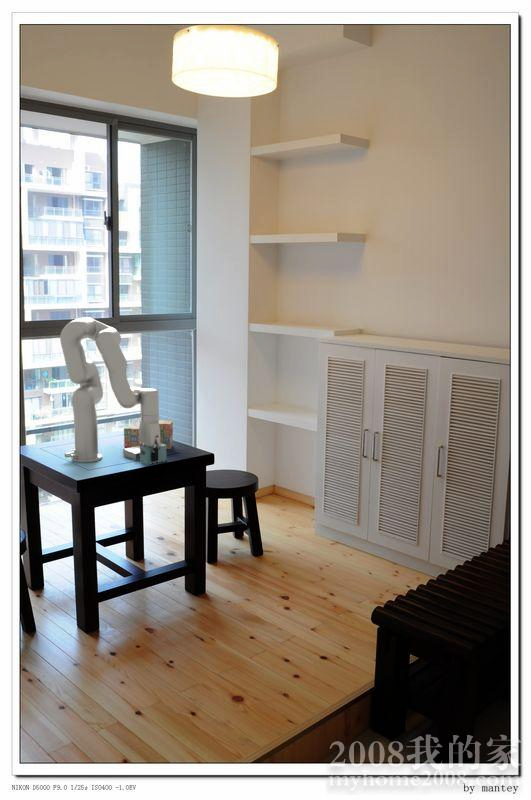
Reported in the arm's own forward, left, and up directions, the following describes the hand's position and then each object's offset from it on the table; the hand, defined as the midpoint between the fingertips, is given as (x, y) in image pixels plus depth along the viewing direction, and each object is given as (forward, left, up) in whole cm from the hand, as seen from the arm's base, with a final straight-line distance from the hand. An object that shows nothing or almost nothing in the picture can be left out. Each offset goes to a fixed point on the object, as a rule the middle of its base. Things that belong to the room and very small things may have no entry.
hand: (150, 459), depth 318 cm
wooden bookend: (+3, +11, -1) cm, 11 cm away
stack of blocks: (+13, +21, -2) cm, 25 cm away
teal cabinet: (+1, 0, -2) cm, 2 cm away
